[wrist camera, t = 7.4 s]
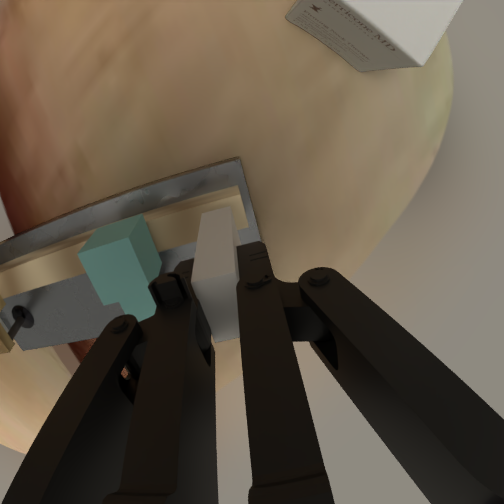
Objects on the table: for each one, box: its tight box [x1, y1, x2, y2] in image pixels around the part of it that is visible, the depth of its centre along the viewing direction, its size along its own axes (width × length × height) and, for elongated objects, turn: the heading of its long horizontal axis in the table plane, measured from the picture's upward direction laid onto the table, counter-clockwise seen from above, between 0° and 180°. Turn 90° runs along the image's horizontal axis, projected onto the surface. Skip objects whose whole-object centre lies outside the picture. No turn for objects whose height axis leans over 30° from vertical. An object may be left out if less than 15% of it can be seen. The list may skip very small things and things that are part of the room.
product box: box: [285, 0, 464, 72], centre depth 13 cm, size 6×6×7 cm
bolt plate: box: [0, 156, 261, 351], centre depth 22 cm, size 24×10×1 cm, turn 104°
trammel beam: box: [0, 185, 249, 354], centre depth 19 cm, size 23×6×5 cm, turn 104°
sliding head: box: [77, 214, 162, 322], centre depth 18 cm, size 3×6×5 cm, turn 14°
